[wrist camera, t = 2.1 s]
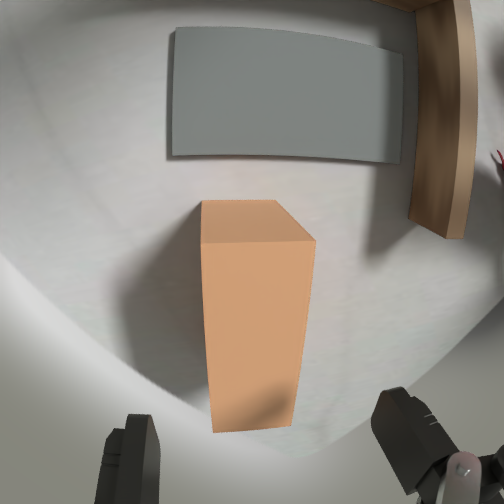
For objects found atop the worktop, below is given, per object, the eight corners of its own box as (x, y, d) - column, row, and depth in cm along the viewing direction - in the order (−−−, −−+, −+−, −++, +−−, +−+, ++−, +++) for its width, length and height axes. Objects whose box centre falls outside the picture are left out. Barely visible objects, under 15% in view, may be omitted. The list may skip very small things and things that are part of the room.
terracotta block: (201, 200, 17) (200, 243, 11) (274, 199, 18) (316, 240, 11) (207, 350, 21) (213, 432, 14) (267, 347, 21) (291, 425, 15)
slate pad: (176, 29, 13) (175, 27, 13) (399, 55, 15) (402, 54, 15) (172, 155, 16) (172, 155, 16) (396, 163, 18) (399, 164, 17)
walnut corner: (131, -37, 11) (116, -70, 8) (430, 4, 14) (468, -10, 10) (122, 221, 17) (101, 246, 13) (425, 219, 19) (463, 238, 16)
